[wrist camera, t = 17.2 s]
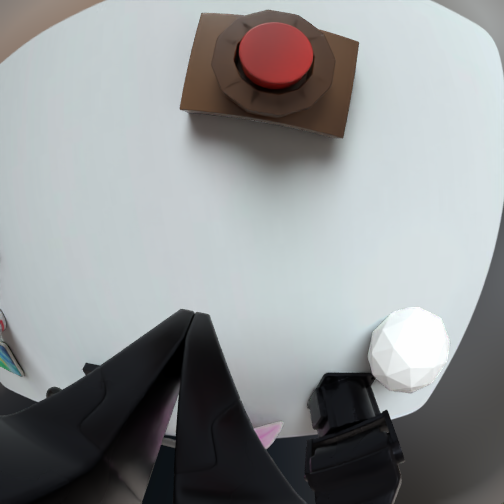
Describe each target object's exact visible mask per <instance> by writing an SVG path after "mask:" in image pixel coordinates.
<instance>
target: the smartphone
mask: <svg viewBox="0 0 504 504" xmlns="http://www.w3.org/2000/svg"><path fill="white" fill-rule="evenodd" d="M0 367H2V368H4V369H6V370H8V371H10V372H12V373H14V374H17V375H19V376H21V377H23V376H24V372H23V371H22V369H21V367H20V366H19V365H18V363H17V361H16V360H15V358H14V356H13V354H12V353H11V351H10V349H9V347H8V346H7V345H6V344H5V343H2V342H0Z"/></svg>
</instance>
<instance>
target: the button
mask: <svg viewBox="0 0 504 504" xmlns="http://www.w3.org/2000/svg"><path fill="white" fill-rule="evenodd" d="M239 57H240V62H241V67H242V70H243V71H244V73H245V75H246V76H247V77H248V78H249V79H250V80H251V81H252V82H253V83H255V84H257V85H259V86H261V87H264V88H268V89H284V88H288V87H290V86H292V85H294V84H296V83H297V82H298V81H300V80H301V78H302V77H303V76H304V75H305V74H306V72H307V71H308V70H309V68H310V67H311V64H312V61H313V49H312V46H311V43H310V41H309V40H308V38H307V37H306V36H305V35H304V34H303V33H302V32H301V31H300V30H298V29H297V28H295V27H293V26H291V25H288V24H284V23H278V22H270V23H264V24H260V25H258V26H256V27H254V28H252V29H251V30H249V31H248V32H247V33H246V34H245V35H244V37H243V38H242V40H241V42H240V46H239Z"/></svg>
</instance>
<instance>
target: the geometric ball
mask: <svg viewBox="0 0 504 504" xmlns="http://www.w3.org/2000/svg"><path fill="white" fill-rule="evenodd" d="M449 346H450V339H449V337H448V334H447V332H446V329H445V327H444V324H443V322H442V319H441V318H440V317H438V316H436V315H434V314H432V313H430V312H428V311H426V310H424V309H422V308H420V307H409V308H403V309H400V310H397V311H394V312H392V313H391V314H390V315H389V316H388V317H387V318H386V319H385V320H384V321H383V322H382V323H381V324H380V325H379V326H378V327H377V328H376V329H375V330H374V331H373V332H372V338H371V343H370V348H369V353H368V360H369V364H370V367H371V371H372V374H373V376H374V377H375V378H377V379H378V380H379V381H380V382H381V383H382V384H383V385H384V386H385V387H386V388H387V389H388V390H390V391H397V392H405V393H413V392H415V391H417V390H419V389H421V388H423V387H425V386H427V385H429V384H431V383H433V382H434V380H435V379H436V377H437V376H438V374H439V373H440V371H441V370H442V368H443V367H444V365H445V364H446V362H447V360H448V353H449Z"/></svg>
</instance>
